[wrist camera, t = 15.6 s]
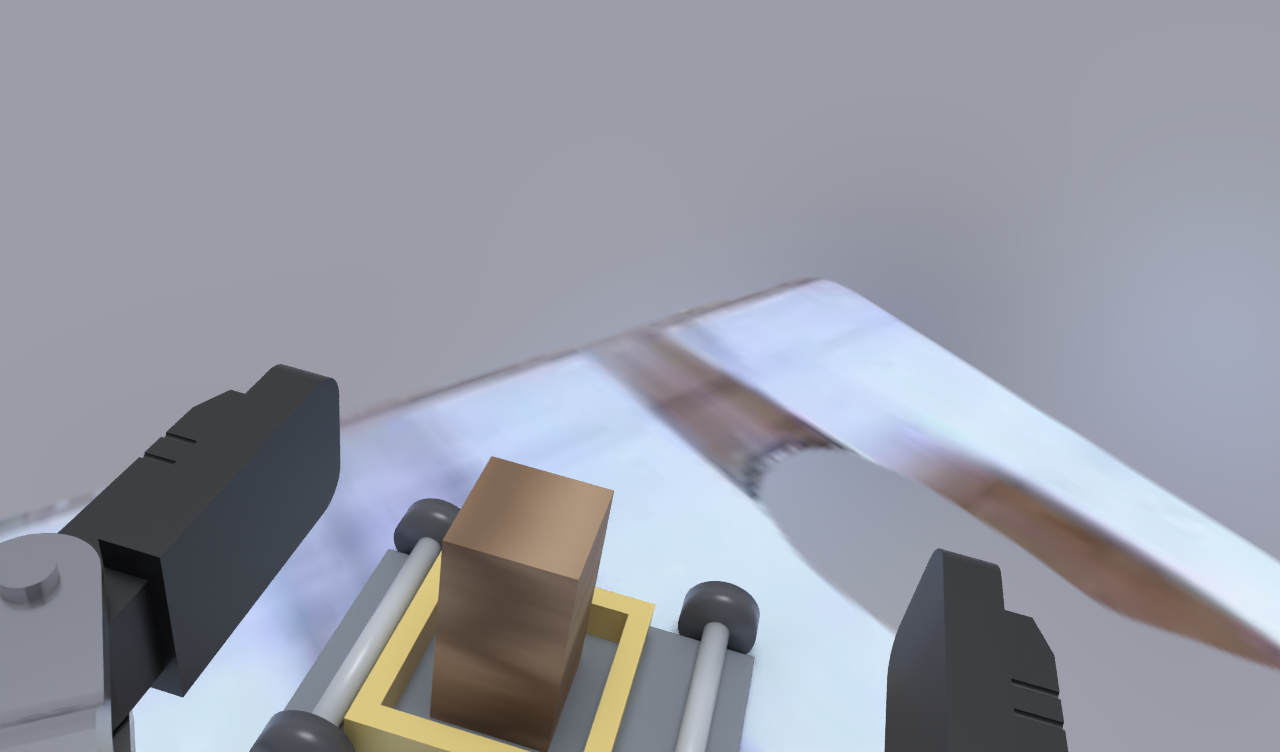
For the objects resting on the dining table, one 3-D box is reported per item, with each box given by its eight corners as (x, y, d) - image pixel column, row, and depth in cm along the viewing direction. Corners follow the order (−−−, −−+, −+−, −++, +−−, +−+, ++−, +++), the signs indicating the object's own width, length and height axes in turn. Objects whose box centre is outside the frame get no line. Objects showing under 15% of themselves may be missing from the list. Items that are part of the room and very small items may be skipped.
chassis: (754, 647, 48) (771, 595, 46) (703, 934, 36) (724, 882, 34) (401, 543, 50) (403, 488, 48) (246, 785, 38) (240, 728, 36)
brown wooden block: (580, 659, 44) (613, 490, 39) (546, 753, 40) (578, 580, 35) (473, 627, 45) (491, 456, 39) (429, 717, 41) (442, 540, 35)
